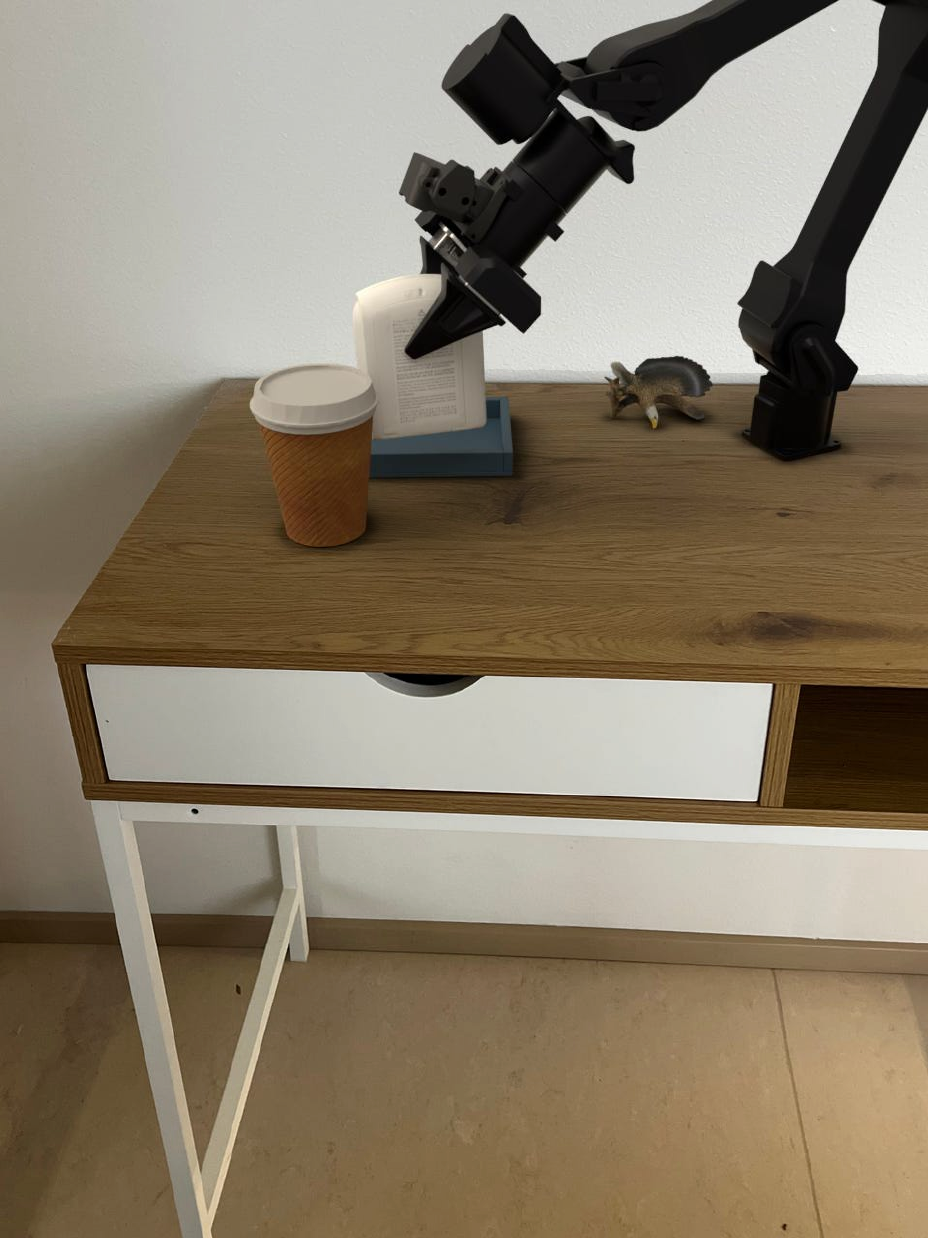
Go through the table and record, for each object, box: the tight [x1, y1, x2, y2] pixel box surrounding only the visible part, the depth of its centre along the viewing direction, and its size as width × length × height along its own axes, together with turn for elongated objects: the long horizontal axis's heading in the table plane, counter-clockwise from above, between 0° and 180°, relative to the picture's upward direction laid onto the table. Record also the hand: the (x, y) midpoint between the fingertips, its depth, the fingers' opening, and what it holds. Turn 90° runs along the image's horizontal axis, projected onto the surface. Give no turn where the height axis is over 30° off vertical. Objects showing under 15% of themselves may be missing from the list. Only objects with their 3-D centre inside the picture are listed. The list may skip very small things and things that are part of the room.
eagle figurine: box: [604, 355, 714, 429], centre depth 106 cm, size 8×7×9 cm
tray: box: [369, 396, 514, 479], centre depth 103 cm, size 18×13×2 cm
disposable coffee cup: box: [249, 362, 379, 548], centre depth 87 cm, size 10×10×12 cm
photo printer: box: [352, 273, 487, 441], centre depth 90 cm, size 10×4×12 cm, turn 103°
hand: (402, 345), depth 90 cm, fingers closed on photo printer, 4 cm apart
